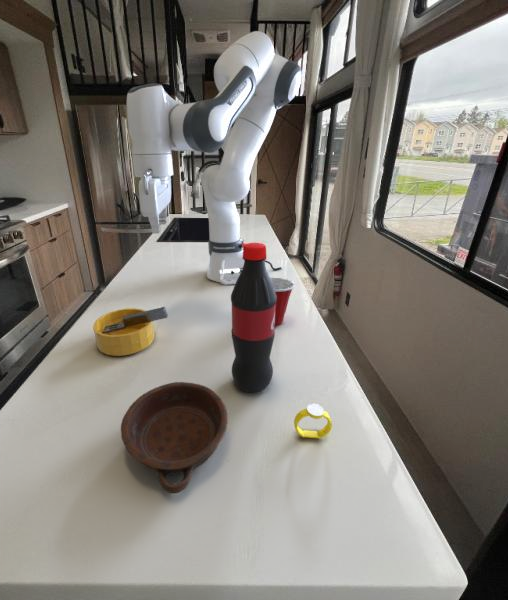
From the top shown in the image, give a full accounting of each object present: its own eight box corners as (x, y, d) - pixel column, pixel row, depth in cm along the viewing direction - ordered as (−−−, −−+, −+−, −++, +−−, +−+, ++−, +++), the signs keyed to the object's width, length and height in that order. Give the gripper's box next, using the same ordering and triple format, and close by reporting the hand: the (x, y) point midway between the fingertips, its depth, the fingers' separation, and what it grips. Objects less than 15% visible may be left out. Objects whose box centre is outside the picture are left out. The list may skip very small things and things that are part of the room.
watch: (294, 441, 55) (297, 415, 52) (292, 428, 57) (294, 402, 54) (330, 442, 54) (335, 416, 52) (326, 429, 57) (330, 403, 54)
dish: (111, 507, 45) (105, 484, 43) (136, 397, 65) (132, 377, 63) (235, 495, 46) (235, 472, 44) (222, 390, 66) (222, 371, 64)
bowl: (159, 326, 90) (156, 307, 88) (148, 357, 77) (145, 335, 75) (108, 327, 90) (104, 308, 88) (89, 358, 77) (84, 337, 75)
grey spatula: (168, 313, 82) (165, 305, 81) (166, 319, 79) (163, 310, 78) (106, 327, 84) (102, 320, 83) (102, 333, 81) (98, 326, 80)
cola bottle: (275, 374, 71) (283, 239, 57) (267, 400, 63) (274, 253, 50) (238, 366, 73) (238, 236, 60) (226, 391, 66) (223, 249, 53)
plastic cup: (296, 316, 94) (299, 277, 89) (286, 334, 85) (289, 292, 80) (260, 309, 98) (261, 272, 93) (247, 326, 89) (248, 286, 84)
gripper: (159, 171, 65) (166, 239, 71) (173, 165, 83) (177, 219, 89) (127, 171, 65) (137, 239, 71) (148, 165, 83) (154, 219, 89)
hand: (159, 228), depth 80 cm, fingers open, 8 cm apart
